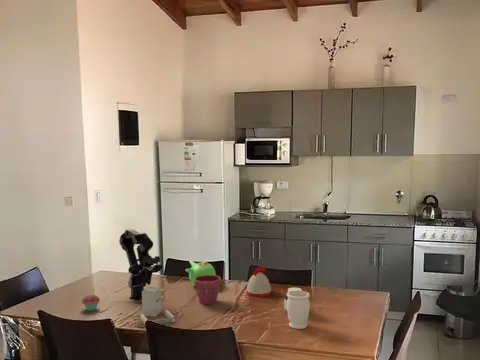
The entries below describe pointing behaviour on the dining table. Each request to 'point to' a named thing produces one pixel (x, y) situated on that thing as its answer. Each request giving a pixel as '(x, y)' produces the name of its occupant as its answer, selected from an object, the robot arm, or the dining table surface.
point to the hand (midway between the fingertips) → (149, 284)
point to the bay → (163, 320)
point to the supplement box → (151, 301)
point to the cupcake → (91, 301)
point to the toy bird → (200, 270)
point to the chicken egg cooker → (259, 284)
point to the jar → (298, 309)
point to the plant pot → (207, 288)
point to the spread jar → (287, 297)
